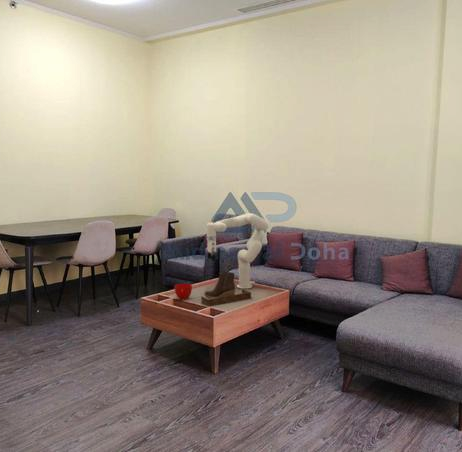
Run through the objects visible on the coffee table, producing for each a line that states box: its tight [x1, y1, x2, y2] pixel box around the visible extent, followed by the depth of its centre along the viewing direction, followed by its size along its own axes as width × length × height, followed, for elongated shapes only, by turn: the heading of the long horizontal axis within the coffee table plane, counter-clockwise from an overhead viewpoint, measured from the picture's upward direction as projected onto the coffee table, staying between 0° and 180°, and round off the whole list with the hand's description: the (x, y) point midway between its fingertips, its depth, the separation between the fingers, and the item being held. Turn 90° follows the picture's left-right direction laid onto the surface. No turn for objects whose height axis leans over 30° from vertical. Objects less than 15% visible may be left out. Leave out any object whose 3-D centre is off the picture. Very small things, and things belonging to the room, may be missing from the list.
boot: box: [203, 271, 236, 299], centre depth 346 cm, size 9×24×20 cm, turn 84°
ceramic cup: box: [174, 283, 193, 301], centre depth 343 cm, size 13×17×10 cm
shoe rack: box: [200, 289, 252, 307], centre depth 339 cm, size 37×11×5 cm, turn 124°
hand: (211, 259), depth 364 cm, fingers open, 9 cm apart
